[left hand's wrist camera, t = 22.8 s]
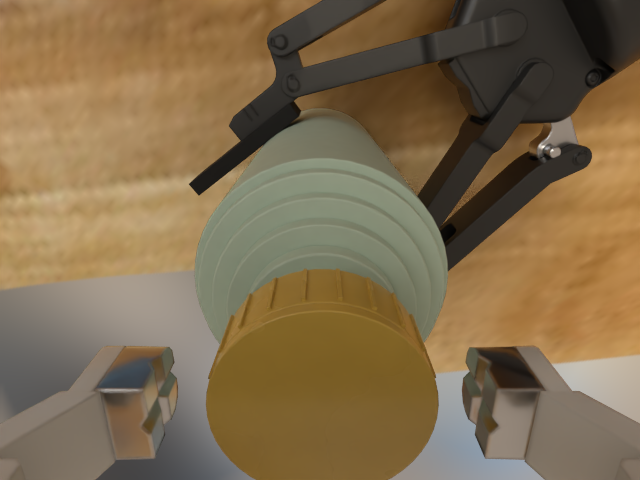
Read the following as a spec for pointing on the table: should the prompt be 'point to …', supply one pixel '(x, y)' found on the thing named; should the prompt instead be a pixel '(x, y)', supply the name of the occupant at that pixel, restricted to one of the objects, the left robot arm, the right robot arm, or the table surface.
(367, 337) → the cap
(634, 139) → the table surface
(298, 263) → the bottle
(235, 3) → the table surface
